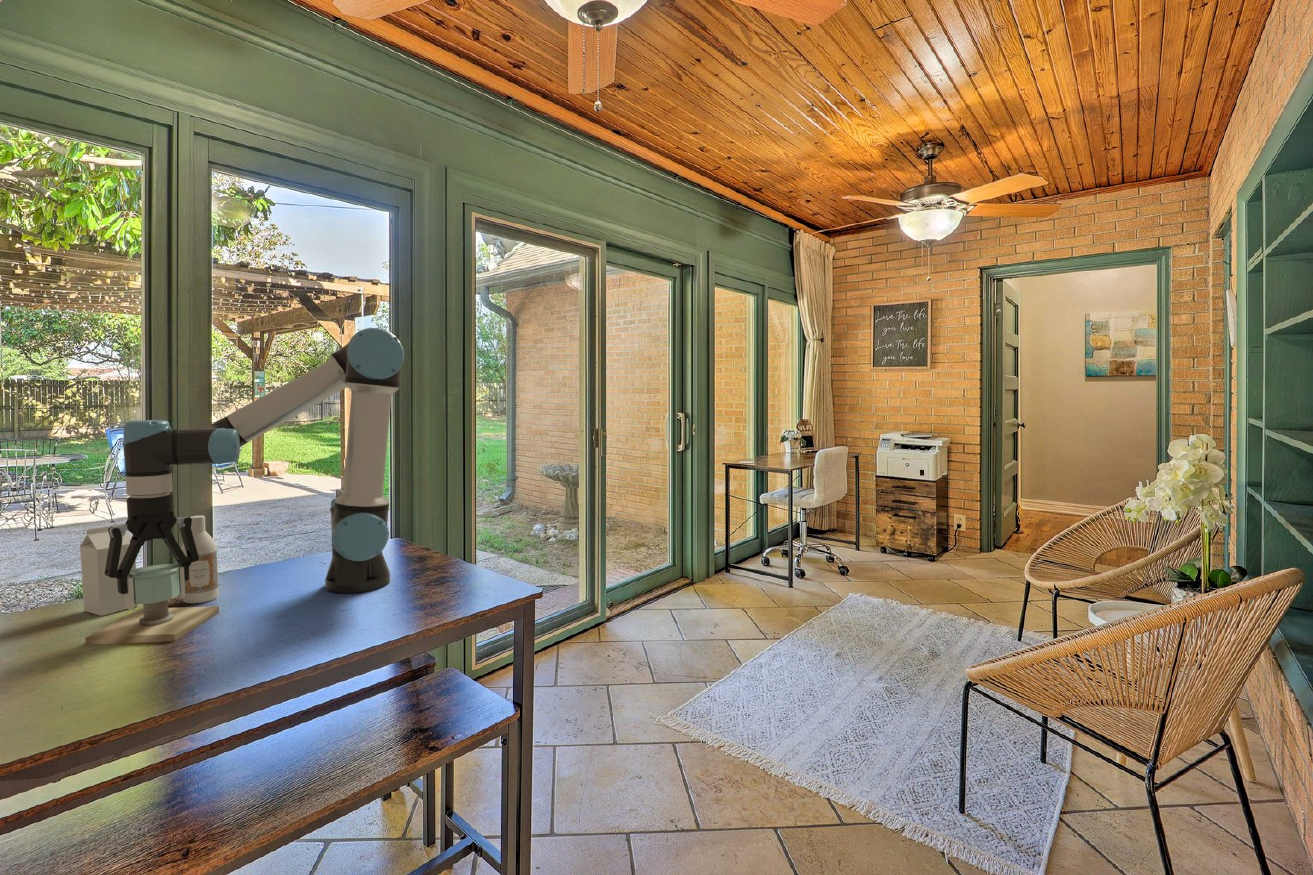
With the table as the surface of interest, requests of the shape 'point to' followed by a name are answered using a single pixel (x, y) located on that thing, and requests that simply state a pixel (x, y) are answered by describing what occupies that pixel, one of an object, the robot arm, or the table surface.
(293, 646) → the table surface
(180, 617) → the stud board
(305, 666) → the table surface
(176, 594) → the cap
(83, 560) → the milk carton
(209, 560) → the bath foam
